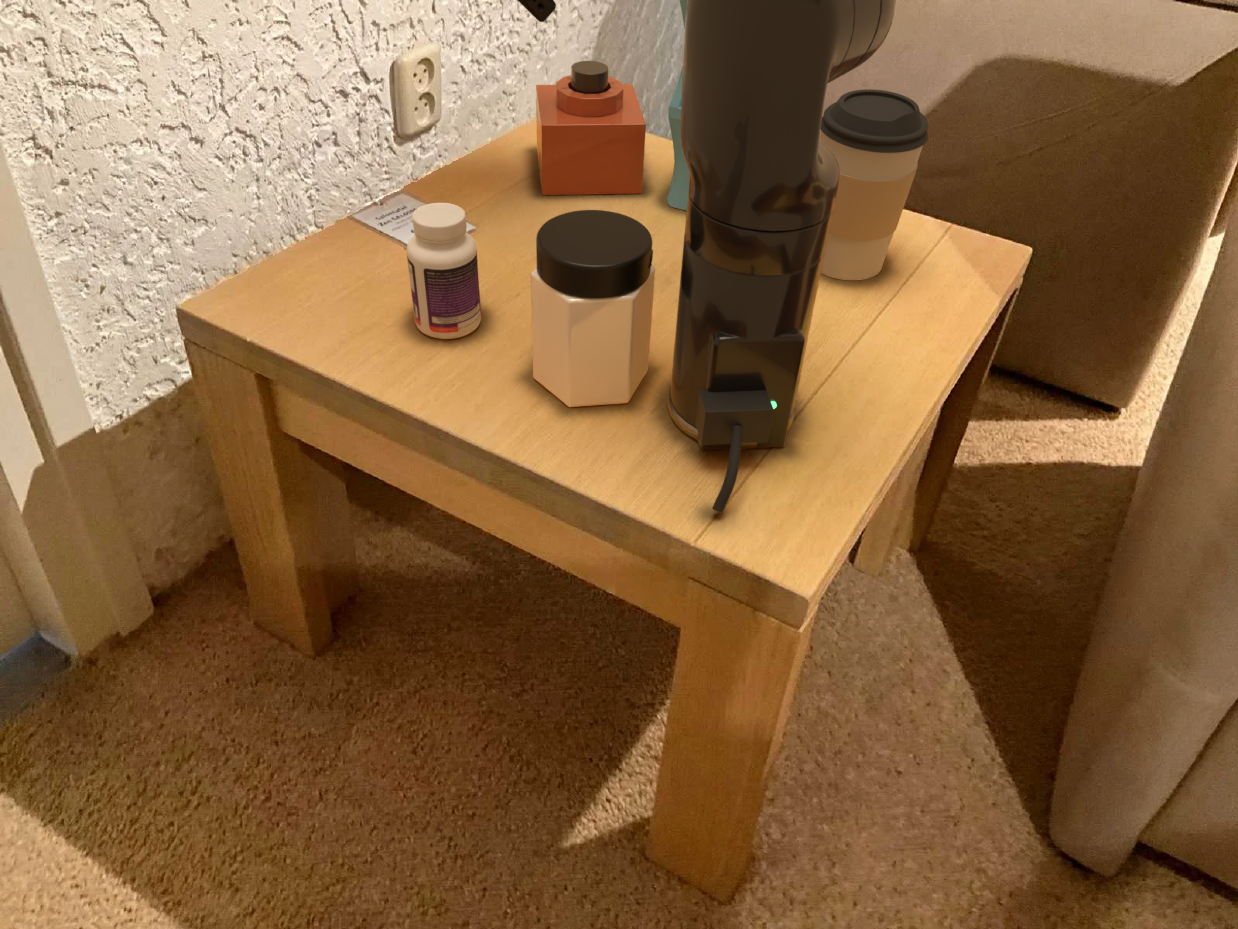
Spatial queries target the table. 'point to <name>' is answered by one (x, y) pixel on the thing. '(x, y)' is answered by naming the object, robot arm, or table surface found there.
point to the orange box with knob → (589, 139)
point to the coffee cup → (869, 176)
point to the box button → (589, 77)
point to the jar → (592, 306)
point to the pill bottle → (443, 272)
